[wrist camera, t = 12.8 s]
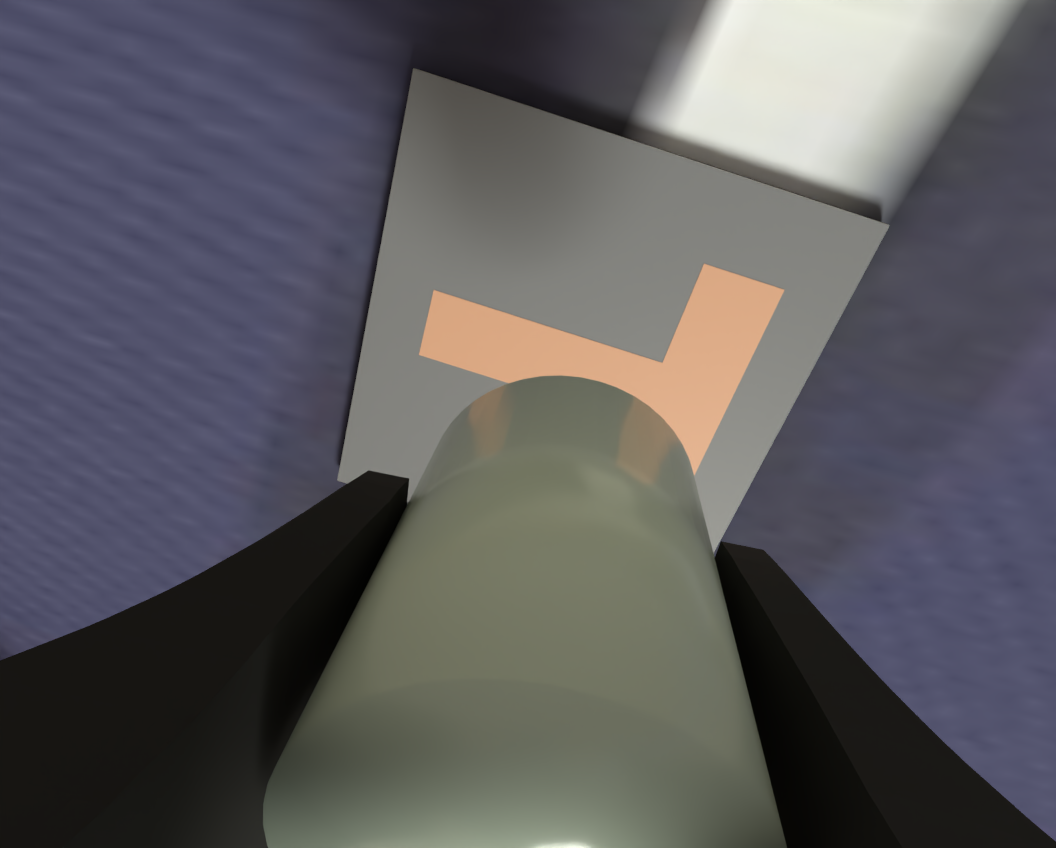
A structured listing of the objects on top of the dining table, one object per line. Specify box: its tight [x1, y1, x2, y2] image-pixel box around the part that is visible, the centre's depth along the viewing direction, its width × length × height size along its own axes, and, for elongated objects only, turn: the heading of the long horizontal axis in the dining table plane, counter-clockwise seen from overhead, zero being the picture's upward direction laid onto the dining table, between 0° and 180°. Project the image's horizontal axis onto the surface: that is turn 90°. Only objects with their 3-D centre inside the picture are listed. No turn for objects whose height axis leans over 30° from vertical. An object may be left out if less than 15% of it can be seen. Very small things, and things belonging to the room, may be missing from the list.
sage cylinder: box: [263, 375, 787, 848], centre depth 8 cm, size 4×4×6 cm
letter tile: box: [337, 68, 890, 553], centre depth 17 cm, size 11×11×1 cm
